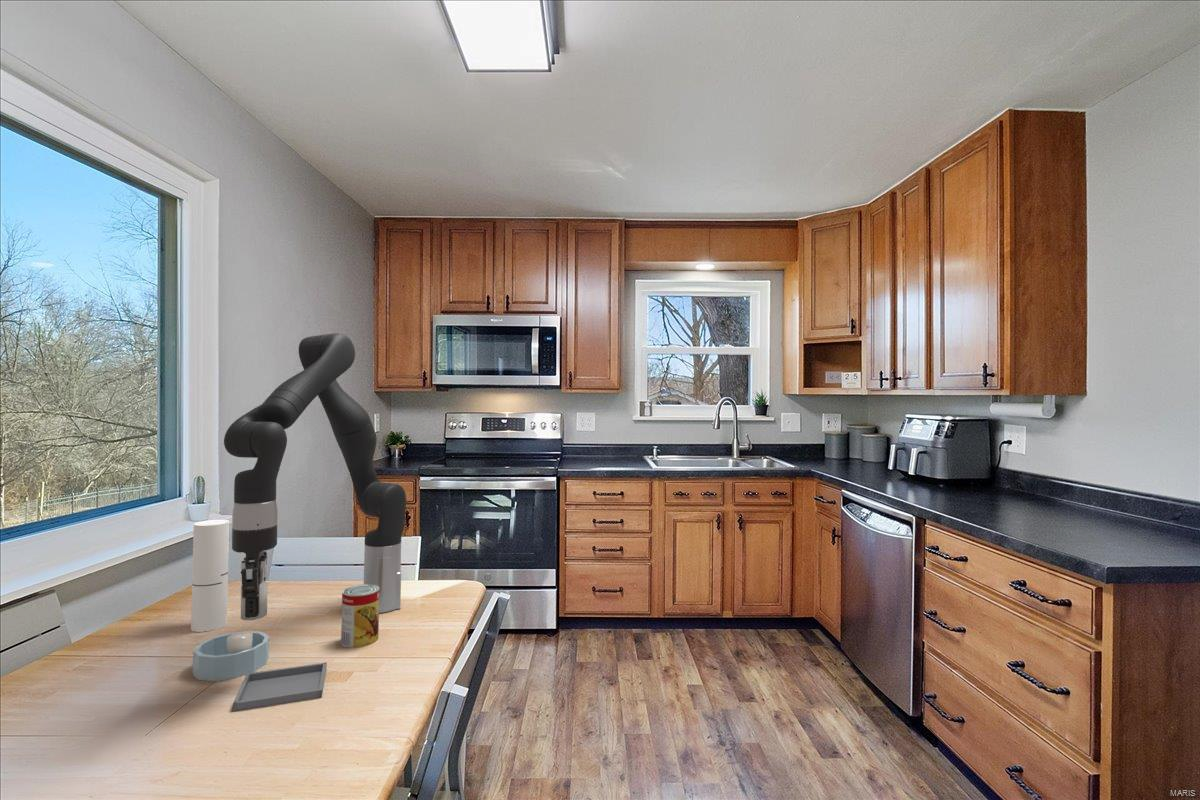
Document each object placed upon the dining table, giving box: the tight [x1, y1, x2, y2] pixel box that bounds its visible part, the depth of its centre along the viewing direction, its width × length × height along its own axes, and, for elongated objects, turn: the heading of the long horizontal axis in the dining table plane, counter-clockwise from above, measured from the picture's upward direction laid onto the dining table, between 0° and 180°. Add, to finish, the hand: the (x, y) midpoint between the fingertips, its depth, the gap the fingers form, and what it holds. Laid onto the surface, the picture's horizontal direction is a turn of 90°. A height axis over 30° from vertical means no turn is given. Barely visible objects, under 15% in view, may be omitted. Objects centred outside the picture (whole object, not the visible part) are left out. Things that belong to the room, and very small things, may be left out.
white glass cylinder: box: [227, 630, 253, 654], centre depth 115 cm, size 4×4×6 cm
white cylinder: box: [240, 581, 268, 621], centre depth 110 cm, size 4×4×6 cm
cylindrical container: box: [190, 519, 230, 633], centre depth 137 cm, size 7×7×25 cm
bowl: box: [192, 630, 270, 682], centre depth 116 cm, size 13×13×5 cm
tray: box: [232, 661, 328, 712], centre depth 107 cm, size 14×12×2 cm
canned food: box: [340, 583, 380, 648], centre depth 129 cm, size 8×8×12 cm
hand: (254, 611), depth 110 cm, fingers closed on white cylinder, 4 cm apart
